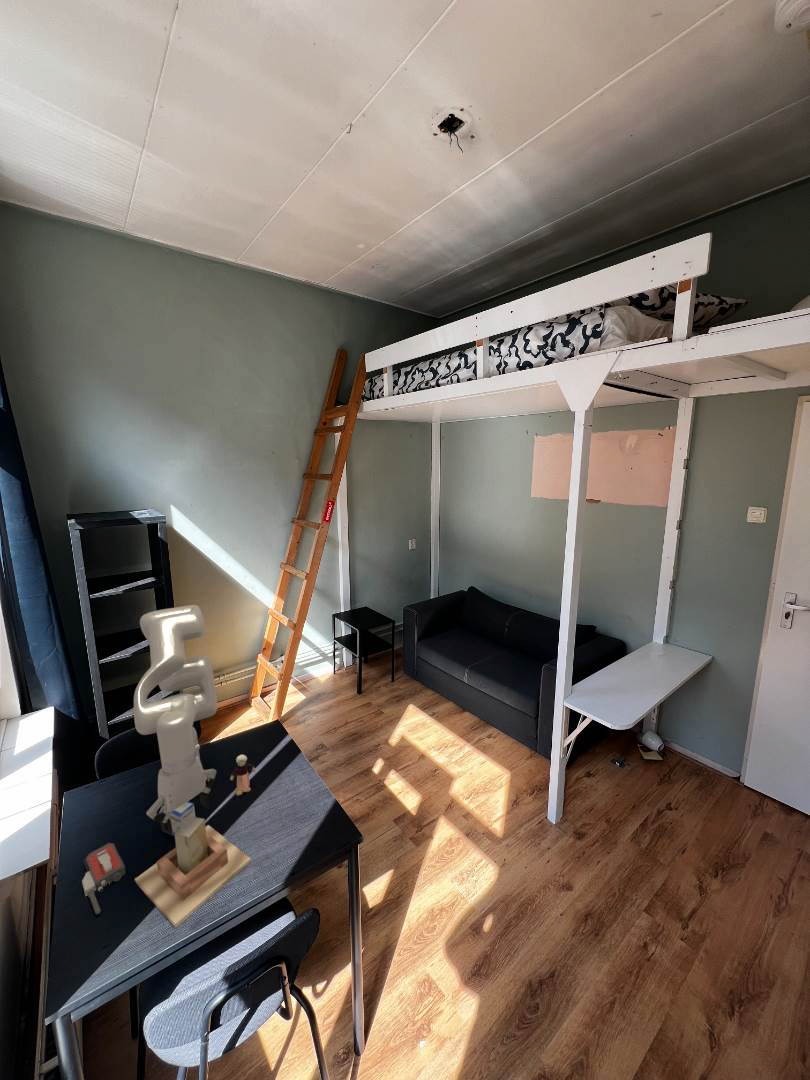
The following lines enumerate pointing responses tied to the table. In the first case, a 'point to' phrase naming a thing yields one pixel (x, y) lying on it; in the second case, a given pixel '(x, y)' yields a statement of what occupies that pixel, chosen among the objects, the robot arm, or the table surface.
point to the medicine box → (181, 816)
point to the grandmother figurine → (242, 774)
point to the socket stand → (191, 878)
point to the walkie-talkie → (101, 871)
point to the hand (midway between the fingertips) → (187, 818)
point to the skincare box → (191, 844)
